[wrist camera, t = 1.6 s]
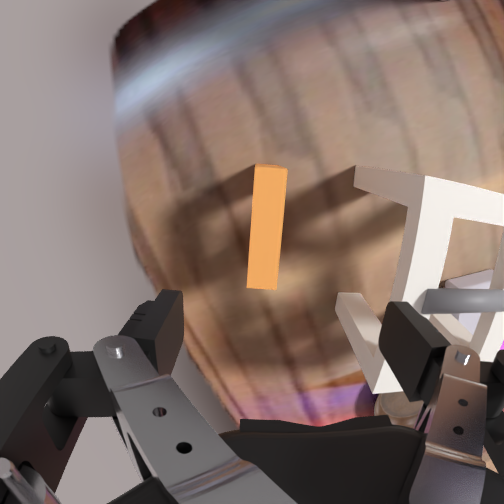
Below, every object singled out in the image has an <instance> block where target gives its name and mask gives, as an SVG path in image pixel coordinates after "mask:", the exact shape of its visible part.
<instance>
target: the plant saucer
mask: <svg viewBox="0 0 504 504" xmlns="http://www.w3.org/2000/svg"><path fill="white" fill-rule="evenodd" d="M422 404H423V400H422V401H415V402H409V400H408V398H407V397H406V395H405V393H404V391H400V392H390V393H379V394H378V397H377V399H376V403H375V407H374V416H378V415H387V414H388V416H389V418H390V420H391V423H392V424H395V425H402V426H406V427H410V428H413V427H414V424H415V422H416V419H417V416H418V413H419V410H420V408H421V406H422Z"/></svg>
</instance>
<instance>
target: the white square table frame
mask: <svg viewBox="0 0 504 504" xmlns="http://www.w3.org/2000/svg"><path fill="white" fill-rule="evenodd" d="M353 187H356V188H358V189H361V190H364V191H367V192H370V193H372V194H375V195H378V196H381V197H383V198H386V199H389V200H391V201H394V202H397V203H399V204H402V205H404V206H407V207H408V210H407V217H406V223H405V229H404V235H403V241H402V246H401V251H400V256H399V261H398V266H397V271H396V276H395V280H394V285H393V289H392V293H391V297H390V301H407V302H408V303H409V304H410V305H411V306H412V307H413V308H414V309H415V310H416V311H417V312H418V313H419V314H420V315H422V316H424V317H425V318H427V319H428V320H429V321H430V322H431V323H432V324H433V326H435V327H436V328H437V330H438V332H440V333H441V334H442V335H443V336H444V337H445V338H446V339H447V340H448V341H449V342H450V344H451V345H455V344H457V345H463V346H467V347H469V348H471V349H473V350H474V351H475V352H476V353H477V354H478V355H479V357H480V361H486V362H493V361H494V358H495V356H496V354H497V352H498V351H499V349H500V347H501V345H502V342H503V340H504V229H503V234H502V239H501V244H500V248H499V252H498V257H497V261H496V265H495V269H494V273H493V276H492V280H491V283H490V287H489V289H461V288H438V287H439V283H440V279H441V275H442V271H443V267H444V262H445V258H446V254H447V249H448V244H449V239H450V234H451V229H452V223H453V217H456V218H462V219H468V220H473V221H479V222H485V223H490V224H495V225H501V226H504V194H501V193H497V192H493V191H490V190H486V189H482V188H478V187H474V186H470V185H466V184H462V183H458V182H453V181H449V180H444V179H440V178H435V177H430V176H425V175H419V174H414V173H407V172H401V171H395V170H388V169H381V168H374V167H366V166H358V165H356V166H355V176H354V186H353ZM390 301H389V302H390ZM335 312H336V314H337V316H338V318H339V320H340V322H341V325H342V327H343V329H344V331H345V333H346V335H347V338H348V340H349V342H350V344H351V346H352V349H353V351H354V353H355V355H356V357H357V360H358V362H359V364H360V366H361V369H362V371H363V373H364V376H365V378H366V380H367V382H368V385H369V387H370V389H371V392H372V394H378V393H390V392H400V391H403V389H402V388H401V386H400V384H399V382H398V381H397V379H396V377H395V375H394V374H393V372H392V370H391V368H390V367H389V365H388V363H387V362H386V360H385V358H384V357H383V355H382V353H381V351H380V349H379V344H378V340H379V334H380V330H381V327H382V324H381V323H380V321H379V320H378V318H377V317H376V315H375V314H374V312H373V311H372V309H371V308H370V306H369V305H368V303H367V302H366V301H365V299H364V298H363V296H362V295H361V293H346V292H338V295H337V300H336V306H335ZM457 313H481V315H480V318H479V321H478V323H477V326H476V329H475V332H474V334H473V335H472V334H471V333H470V332H469V331H468V330H467V329H466V328H465V327H464V326H463V325H462V324H461V323H460V322H459V321H458V320H457V319H456V318H455V317H454V316H453V315H452V314H457Z"/></svg>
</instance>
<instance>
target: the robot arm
mask: <svg viewBox="0 0 504 504" xmlns="http://www.w3.org/2000/svg"><path fill="white" fill-rule="evenodd" d="M441 1H449V0H441ZM183 337H184V313H183V293H182V291H177V290H165V289H162V290H161V292H160V293H159V295H158V296H157V298H156V299H155V301H146V302H145V303H143V304H141V305H139V306H138V307H137V309H136V310H135V312H134V314H132V316H131V317H130V320H128V321H127V323H126V324H125V325H124V327H123V328H122V330H121V331H120V332H119V334H118V335H115V336H109V337H105V338H103V339H101V340H99V341H98V342H97V343H96V344H95V345H94V348H93V351H87V352H86V351H85V352H70V350H69V345H68V343H67V341H66V340H64V339H63V338H60V337H55V336H50V337H43V338H40V339H38V340H36V341H34V342H33V343H32V344H31V345H30V346H29V347H28V348H27V349H26V350H25V351H24V352H23V354H22V355H21V356H20V357H19V358H18V359H17V360H16V361H15V363H14V364H13V365H12V366H11V367H10V368H9V370H8V371H7V372H6V373H5V374H4V375H3V377H2V378H1V379H0V504H61V502H60V500H59V499H58V498H57V496H56V495H55V492H56V489H57V487H58V484H59V482H60V479H61V477H62V474H63V472H64V470H65V467H66V465H67V462H68V460H69V458H70V455H71V453H72V451H73V449H74V446H75V444H76V442H77V440H78V437H79V435H80V433H81V431H82V429H83V427H84V424H85V422H86V420H87V418H88V417H111V419H112V421H113V423H114V425H115V427H116V430H117V432H118V434H119V436H120V438H121V440H122V442H123V444H124V447H125V449H126V451H127V453H128V454H129V456H130V458H131V461H132V463H133V465H134V467H135V469H136V472H137V474H138V476H139V477H140V479H141V482H142V483H140V484H139V485H137V486H135V487H134V488H132V489H131V490H129V491H127V492H126V493H124V494H122V495H121V496H119V497H117V498H116V499H114V500H112V501H111V502H109V503H107V504H504V412H503V411H502V410H503V408H504V350H500V351H498V352H497V354H496V356H495V358H494V361H493V362H486V361H480V357H479V355H478V354H477V353H476V352H475V351H474V350H473V349H471V348H469V347H467V346H463V345H457V344H455V345H451V344H450V342H449V341H448V340H447V339H446V338H445V337H444V336H443V335H442V334H441V333H440V332H438V330H437V328H436V327H435V326H433V324H432V323H431V322H430V321H429V320H428V319H427V318H425V317H424V316H422V315H420V314H419V313H418V312H417V311H416V310H415V309H414V308H413V307H412V306H411V305H410V304H409V303H408V302H407V301H390V302H389V303H388V305H387V307H386V311H385V315H384V319H383V323H382V327H381V330H380V334H379V340H378V344H379V349H380V351H381V353H382V355H383V357H384V358H385V360H386V362H387V363H388V365H389V367H390V368H391V370H392V372H393V374H394V375H395V377H396V379H397V381H398V382H399V384H400V386H401V388H402V389H403V391H404V393H405V395H406V397H407V398H408V400H409V402H415V401H422V400H423V404H422V406H421V408H420V410H419V413H418V416H417V419H416V422H415V424H414V427H413V428H410V427H406V426H402V425H395V424H392V423H391V420H390V418H389V416H388V414H387V415H378V416H368V417H357V418H352V419H349V420H345V421H342V422H338V423H334V424H330V425H326V426H322V427H316V426H309V425H303V424H297V423H292V422H286V421H281V420H253V419H240V430H234V431H229V432H224V433H221V434H217V433H216V432H215V430H214V429H213V428H212V427H211V426H210V425H209V423H208V422H207V421H206V420H205V419H204V418H203V416H202V415H201V414H200V413H199V412H198V410H197V409H196V408H195V407H194V405H192V403H191V402H190V400H189V399H188V398H187V397H186V396H185V394H184V393H183V392H182V390H181V389H180V388H179V386H178V385H177V384H176V382H175V381H174V380H173V379H172V377H171V373H172V370H173V368H174V365H175V362H176V359H177V356H178V354H179V351H180V348H181V346H182V342H183ZM46 403H47V404H46ZM45 405H46V406H45ZM44 406H45V407H44ZM483 445H484V447H485V449H486V451H487V453H488V454H489V456H490V458H491V460H492V462H493V464H494V466H495V467H496V469H497V471H498V473H499V474H498V473H496V472H494V471H492V470H490V469H488V468H486V463H485V462H484V461H482V452H483Z"/></svg>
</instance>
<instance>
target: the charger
mask: <svg viewBox="0 0 504 504" xmlns="http://www.w3.org/2000/svg"><path fill="white" fill-rule="evenodd" d="M493 273H494V271H493V270H492V269H489V270H485V271H481V272H477V273H473V274H469V275H465V276H461V277H457V278H453V279H449V280H446V282H445V288H461V289H489V287H490V283H491V280H492V276H493ZM452 315H453V316H454V317H455V318H456V319H457V320H458V321H459V322H460V323H461V324H462V325H463V326H464V327H465V328H466V329H467V330H468V331H469V332H470V333H471V334H472V335H473V334H474V332H475V329H476V326H477V323H478V321H479V318H480V315H481V313H457V314H452Z"/></svg>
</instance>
